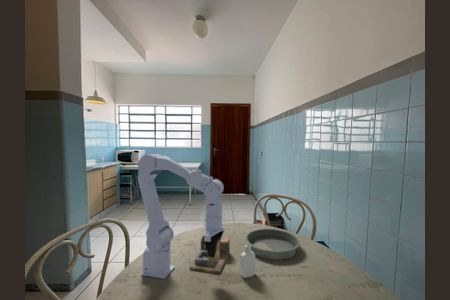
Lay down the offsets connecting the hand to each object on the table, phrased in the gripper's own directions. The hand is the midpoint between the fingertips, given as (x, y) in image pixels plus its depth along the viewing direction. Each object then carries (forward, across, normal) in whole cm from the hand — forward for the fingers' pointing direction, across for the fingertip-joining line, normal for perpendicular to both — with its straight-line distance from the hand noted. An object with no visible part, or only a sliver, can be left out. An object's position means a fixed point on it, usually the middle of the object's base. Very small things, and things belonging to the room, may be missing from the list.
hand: (213, 253), depth 75 cm
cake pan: (+10, +30, -19) cm, 37 cm away
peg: (+2, 0, 0) cm, 2 cm away
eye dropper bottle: (+9, +6, -11) cm, 16 cm away
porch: (+9, +12, +5) cm, 16 cm away
